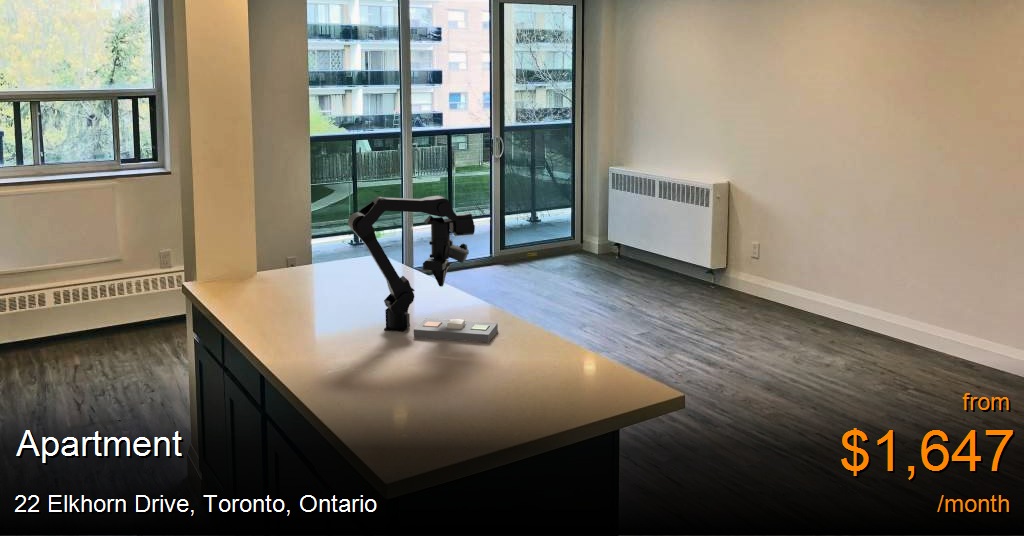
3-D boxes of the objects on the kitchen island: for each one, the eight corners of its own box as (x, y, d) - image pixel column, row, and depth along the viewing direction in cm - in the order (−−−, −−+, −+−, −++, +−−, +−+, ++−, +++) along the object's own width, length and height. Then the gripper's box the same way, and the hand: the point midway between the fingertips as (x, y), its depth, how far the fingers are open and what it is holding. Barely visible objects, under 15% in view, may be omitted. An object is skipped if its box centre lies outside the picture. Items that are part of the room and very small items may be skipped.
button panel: (413, 337, 283) (413, 329, 283) (425, 325, 295) (425, 318, 294) (488, 342, 279) (488, 334, 278) (497, 330, 290) (497, 323, 289)
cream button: (447, 331, 285) (447, 323, 284) (451, 326, 289) (451, 318, 288) (461, 331, 284) (461, 324, 283) (465, 327, 288) (465, 319, 287)
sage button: (471, 336, 283) (471, 328, 283) (474, 332, 288) (474, 324, 287) (485, 337, 283) (485, 329, 282) (489, 333, 287) (489, 325, 286)
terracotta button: (423, 333, 287) (423, 325, 286) (427, 329, 291) (427, 321, 290) (437, 334, 286) (437, 326, 285) (441, 330, 290) (441, 322, 289)
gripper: (457, 244, 281) (458, 295, 284) (473, 232, 299) (473, 280, 302) (421, 242, 283) (422, 293, 287) (439, 230, 301) (440, 278, 304)
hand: (441, 286), depth 295 cm, fingers closed
